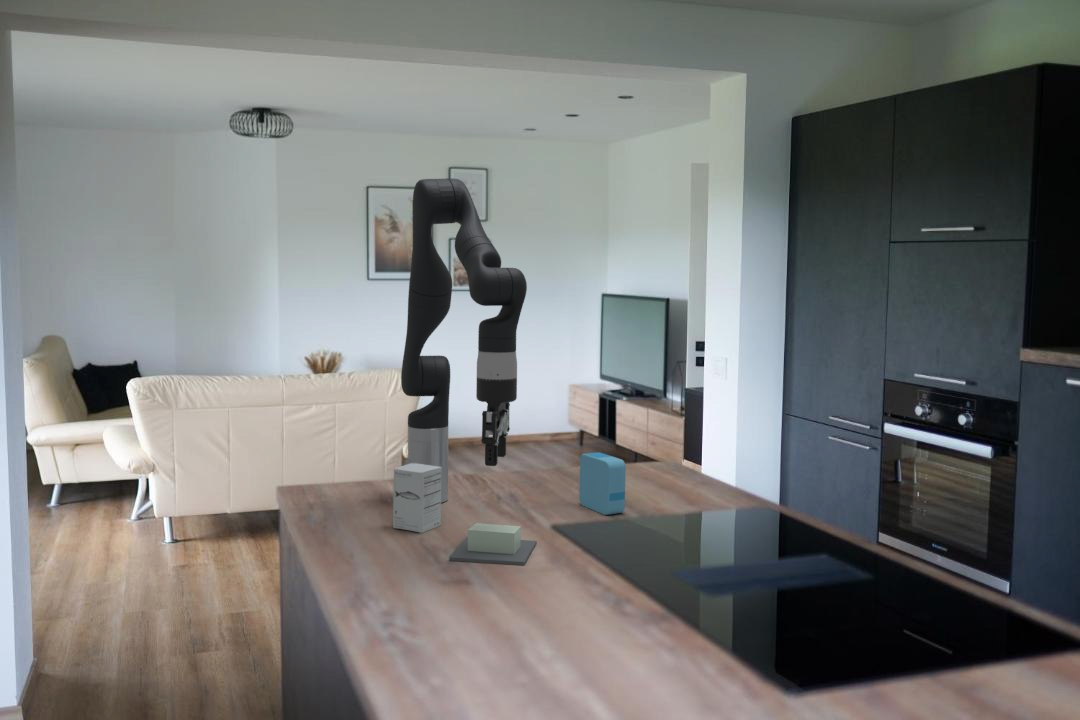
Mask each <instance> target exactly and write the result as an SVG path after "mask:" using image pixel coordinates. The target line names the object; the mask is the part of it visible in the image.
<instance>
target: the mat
mask: <svg viewBox="0 0 1080 720" xmlns="http://www.w3.org/2000/svg"><path fill="white" fill-rule="evenodd" d="M536 546H537V540H528V539H521V547H520V548H519V549H518V551H517V552H516V553H515V554H503V553H491V552H478V551H468V536H466V537H465V538H464V539H463V541H462V542H461V543H460V544H459V545H458V547H456V549H454V551H453V552H452V554H451V555H450V556H449V558H448V559H449V561H453V562H468V563H482V564H483V563H485V564H498V565H500V564H501V565H515V566H526V564H527V561H528V560H529V558H530V556H531V555H532V552H533V551H534V549H535V548H536Z"/></svg>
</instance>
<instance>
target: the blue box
mask: <svg viewBox="0 0 1080 720" xmlns="http://www.w3.org/2000/svg"><path fill="white" fill-rule="evenodd" d="M626 469H627V468H626V463H625V461H624V460H623V459H621V458H619V457H615V456H613V455H608V454H606V453H602V452H588V453H582V454H581V455H580V461H579V491H578V492H579V498H578V499H579V502H580V504H581V505H582V507H584V506H585V507H584V508H587V509H590V510H592V511H594V512H597V513H599V514H602V515H603V516H607V515H615V514H616V515H617V514H622V513H624V511H625V505H626V504H625V503H626V473H627V470H626Z"/></svg>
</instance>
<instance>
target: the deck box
mask: <svg viewBox="0 0 1080 720" xmlns="http://www.w3.org/2000/svg"><path fill="white" fill-rule="evenodd" d="M521 528H522V526H520V525H519V526H518V525H508V524H507V525H504V524H495V523H494V524H492V523H480V522H479V523H477V522H476V523H474V524H473V525H472V526H470V527H469V528H468V529H467V537H468V551H478V552H491V553H503V554H515V553H516V552H517V551H518V549H519V548H520V547H521V540H522V535H521V534H522V529H521Z"/></svg>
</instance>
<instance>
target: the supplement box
mask: <svg viewBox="0 0 1080 720" xmlns="http://www.w3.org/2000/svg"><path fill="white" fill-rule="evenodd" d="M441 473H442V467H438V466H431V465H424V464H417V463H410V464H407V465H405V464H404V465H401V466H398V467H395V468H393V500H392V501H393V502H392V503H393V507H392V508H393V512H392V514H393V515H392V517H393V518H392V524H393V525H392V527H393V528H392V529H397V530H398V529H400V530H404V531H405V530H406V531H411V532H415V533H419V534H423V533H426V532H428V531H430V530H431V531H432V530H433V529H435V528H438V527H440V526H441V524H442V523H441V518H442V517H441V516H442V502H441Z"/></svg>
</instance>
